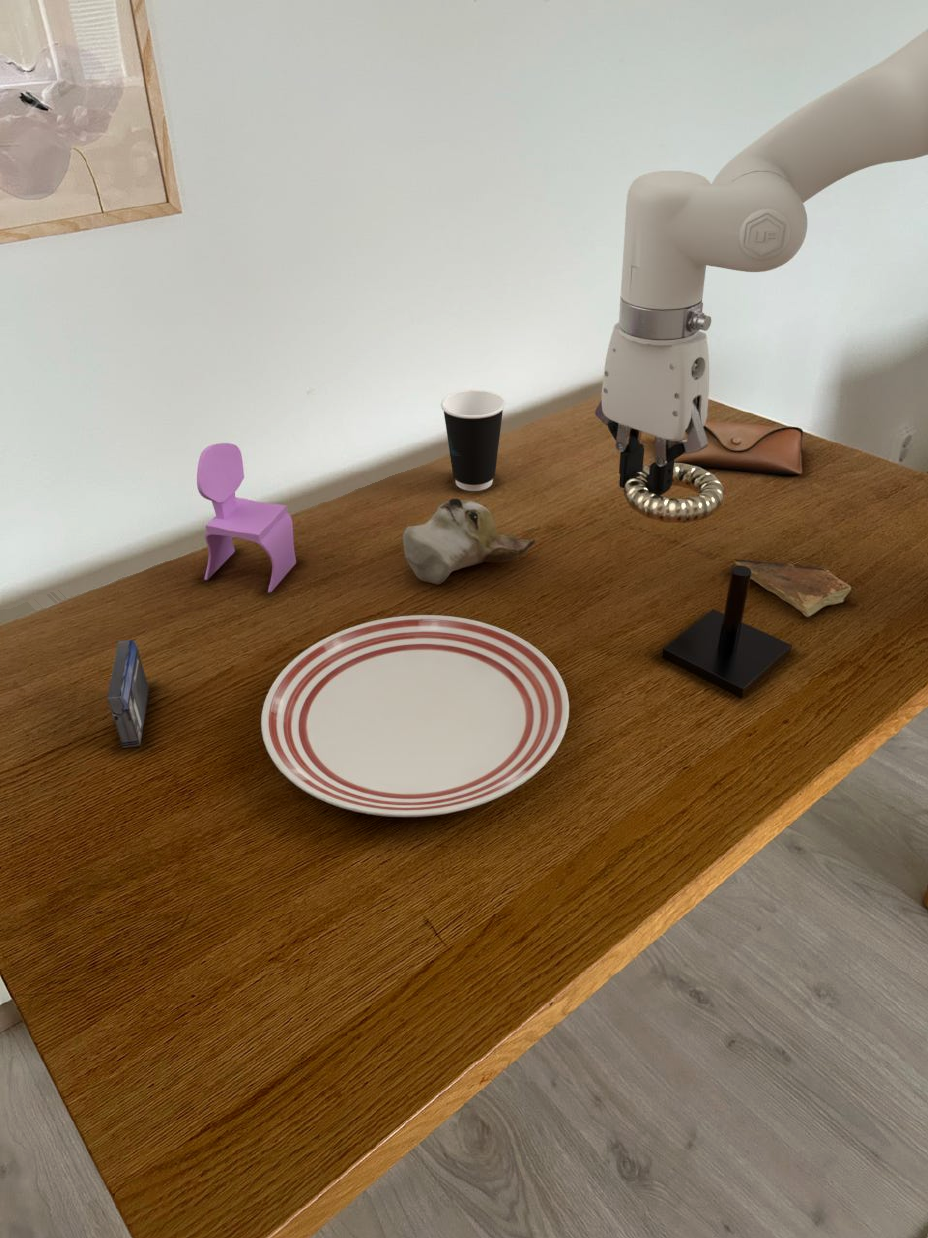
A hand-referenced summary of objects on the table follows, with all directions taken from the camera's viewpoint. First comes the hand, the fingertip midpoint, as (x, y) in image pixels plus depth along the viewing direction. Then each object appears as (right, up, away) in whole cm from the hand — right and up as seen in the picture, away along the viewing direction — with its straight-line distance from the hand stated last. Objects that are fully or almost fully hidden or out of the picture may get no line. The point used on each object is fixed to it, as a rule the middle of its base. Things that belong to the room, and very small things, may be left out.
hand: (644, 487), depth 103 cm
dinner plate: (-23, -24, -13) cm, 36 cm away
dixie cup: (-18, +4, +24) cm, 30 cm away
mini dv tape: (-49, -23, -12) cm, 56 cm away
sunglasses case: (+17, +7, +28) cm, 33 cm away
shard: (+16, -11, +2) cm, 20 cm away
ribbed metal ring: (+3, -1, -2) cm, 4 cm away
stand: (+7, -18, -6) cm, 20 cm away
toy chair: (-43, -9, +8) cm, 44 cm away
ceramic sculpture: (-19, -8, +8) cm, 22 cm away
